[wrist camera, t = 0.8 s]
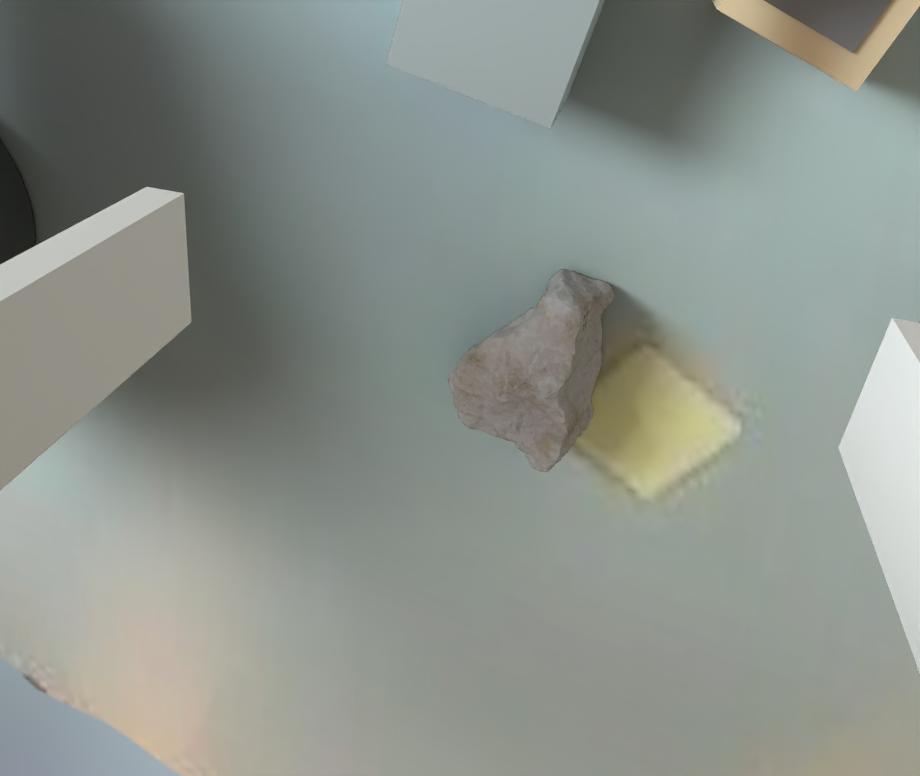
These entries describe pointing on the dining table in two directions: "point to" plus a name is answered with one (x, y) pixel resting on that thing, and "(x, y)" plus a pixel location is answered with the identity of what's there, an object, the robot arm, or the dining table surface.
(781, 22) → the oak block
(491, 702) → the dining table surface
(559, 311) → the stone
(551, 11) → the plain block
